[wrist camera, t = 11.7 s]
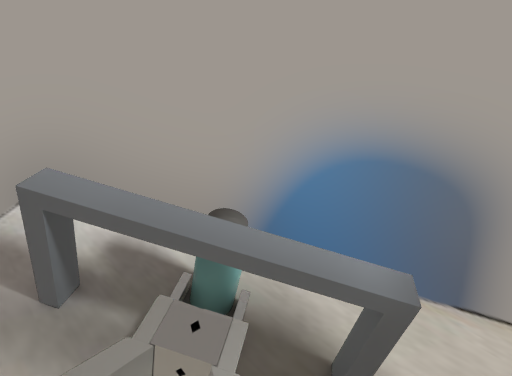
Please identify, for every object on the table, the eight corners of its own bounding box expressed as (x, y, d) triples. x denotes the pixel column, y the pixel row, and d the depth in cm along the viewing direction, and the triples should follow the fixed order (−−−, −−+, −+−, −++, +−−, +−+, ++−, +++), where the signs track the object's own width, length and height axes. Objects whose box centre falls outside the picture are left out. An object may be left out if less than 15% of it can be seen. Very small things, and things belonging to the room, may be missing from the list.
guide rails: (246, 304, 46) (250, 292, 45) (217, 409, 35) (220, 396, 33) (182, 283, 47) (183, 271, 46) (130, 380, 35) (131, 366, 34)
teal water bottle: (238, 289, 48) (257, 213, 41) (226, 323, 43) (246, 244, 36) (198, 277, 48) (211, 200, 41) (183, 309, 43) (194, 228, 36)
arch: (351, 370, 41) (412, 275, 32) (353, 404, 38) (421, 307, 29) (62, 278, 44) (46, 167, 35) (39, 302, 40) (15, 185, 32)
